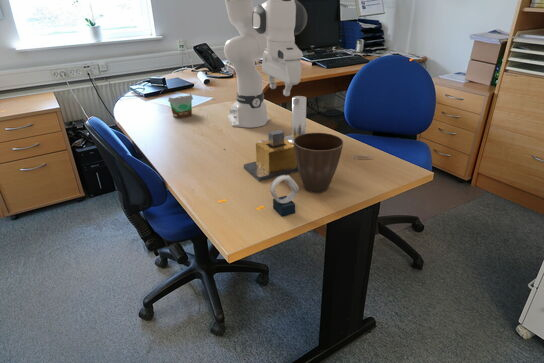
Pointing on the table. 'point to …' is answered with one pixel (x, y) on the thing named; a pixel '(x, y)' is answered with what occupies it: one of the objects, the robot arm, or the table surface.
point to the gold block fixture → (280, 148)
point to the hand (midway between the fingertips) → (279, 91)
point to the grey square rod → (276, 138)
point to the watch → (284, 203)
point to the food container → (181, 106)
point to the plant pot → (317, 159)
